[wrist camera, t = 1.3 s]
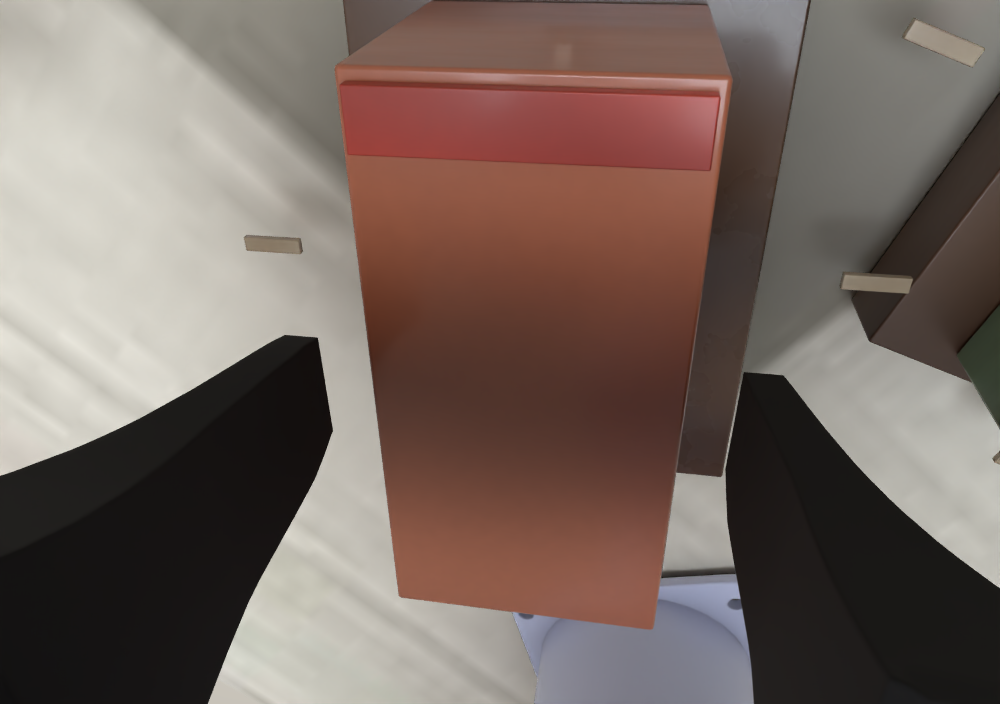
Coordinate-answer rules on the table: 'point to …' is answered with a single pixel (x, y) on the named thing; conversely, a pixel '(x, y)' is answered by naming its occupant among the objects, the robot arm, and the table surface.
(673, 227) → the orange rectangular box
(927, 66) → the table surface
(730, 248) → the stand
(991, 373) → the green and red block
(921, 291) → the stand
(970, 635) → the robot arm
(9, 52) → the table surface
